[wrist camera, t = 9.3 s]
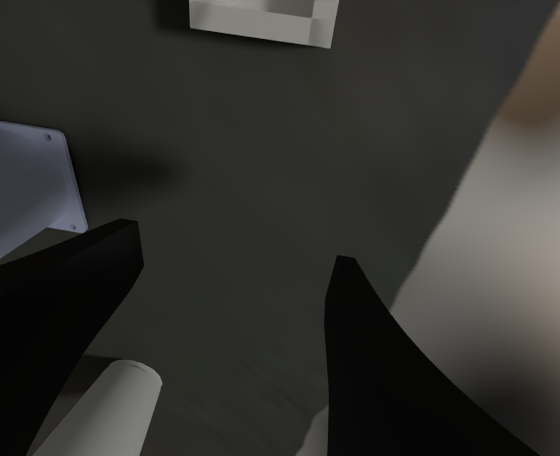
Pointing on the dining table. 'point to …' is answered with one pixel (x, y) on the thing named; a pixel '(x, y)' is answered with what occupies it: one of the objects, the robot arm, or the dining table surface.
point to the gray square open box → (268, 19)
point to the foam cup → (108, 414)
